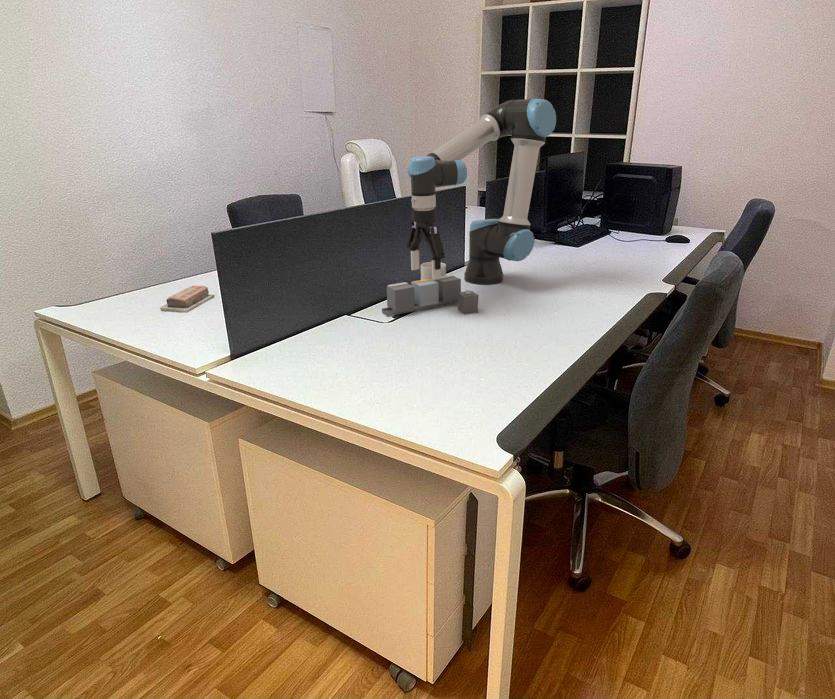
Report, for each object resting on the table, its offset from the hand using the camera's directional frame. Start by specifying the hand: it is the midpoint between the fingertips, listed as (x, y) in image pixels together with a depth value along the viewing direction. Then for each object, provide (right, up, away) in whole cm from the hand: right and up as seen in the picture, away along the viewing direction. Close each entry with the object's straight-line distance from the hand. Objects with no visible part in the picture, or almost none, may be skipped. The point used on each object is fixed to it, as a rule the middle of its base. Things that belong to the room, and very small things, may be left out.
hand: (425, 274), depth 185 cm
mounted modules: (0, -9, +3) cm, 10 cm away
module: (0, -9, +3) cm, 10 cm away
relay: (+14, -12, 0) cm, 19 cm away
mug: (+3, -5, +18) cm, 19 cm away
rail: (0, -10, +4) cm, 11 cm away
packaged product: (-82, -9, +11) cm, 84 cm away
